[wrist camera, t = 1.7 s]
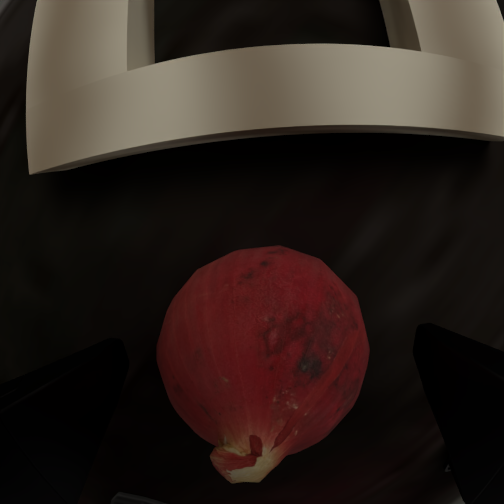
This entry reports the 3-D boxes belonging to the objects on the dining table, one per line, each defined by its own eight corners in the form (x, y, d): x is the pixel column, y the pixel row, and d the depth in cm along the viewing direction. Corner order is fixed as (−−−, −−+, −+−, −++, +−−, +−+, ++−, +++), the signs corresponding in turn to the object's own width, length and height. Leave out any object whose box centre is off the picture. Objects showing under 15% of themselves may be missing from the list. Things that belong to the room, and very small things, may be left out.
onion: (264, 190, 11) (237, 252, 3) (370, 293, 12) (460, 446, 4) (167, 297, 12) (63, 440, 5) (269, 378, 13) (258, 542, 6)
